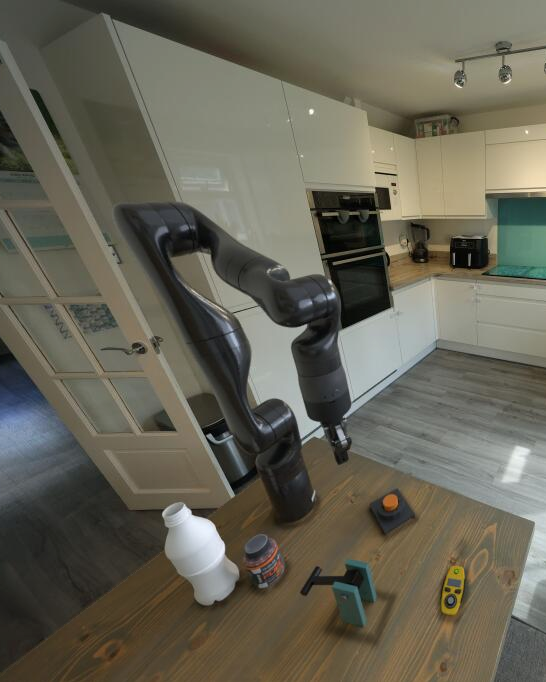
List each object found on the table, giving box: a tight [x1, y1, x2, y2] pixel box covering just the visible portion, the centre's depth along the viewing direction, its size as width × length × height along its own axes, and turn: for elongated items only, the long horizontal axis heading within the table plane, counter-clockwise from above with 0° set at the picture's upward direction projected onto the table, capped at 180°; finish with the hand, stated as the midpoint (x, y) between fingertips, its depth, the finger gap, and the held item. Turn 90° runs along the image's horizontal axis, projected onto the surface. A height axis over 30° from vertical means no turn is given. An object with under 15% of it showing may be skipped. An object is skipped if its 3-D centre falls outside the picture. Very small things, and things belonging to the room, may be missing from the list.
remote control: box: [440, 565, 466, 616], centre depth 67 cm, size 5×2×15 cm
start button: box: [383, 494, 398, 511], centre depth 79 cm, size 4×4×2 cm
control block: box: [368, 487, 416, 536], centre depth 80 cm, size 10×8×4 cm
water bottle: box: [161, 501, 240, 606], centre depth 60 cm, size 7×7×25 cm
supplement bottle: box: [242, 533, 286, 589], centre depth 65 cm, size 6×6×11 cm
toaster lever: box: [299, 565, 364, 597], centre depth 59 cm, size 12×4×2 cm, turn 79°
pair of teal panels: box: [331, 558, 378, 628], centre depth 59 cm, size 10×7×13 cm
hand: (342, 460), depth 63 cm, fingers closed
